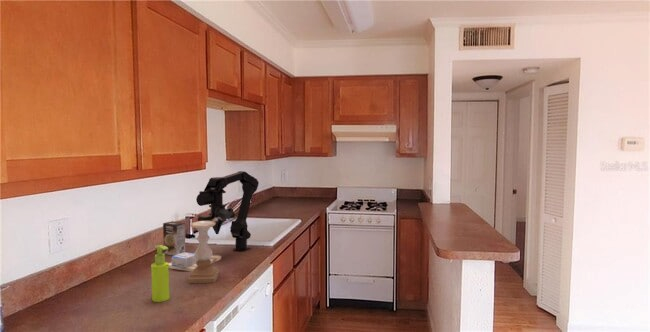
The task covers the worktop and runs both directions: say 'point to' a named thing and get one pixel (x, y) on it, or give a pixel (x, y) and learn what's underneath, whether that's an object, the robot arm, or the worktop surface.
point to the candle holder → (203, 256)
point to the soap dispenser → (160, 276)
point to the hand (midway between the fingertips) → (217, 234)
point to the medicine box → (184, 260)
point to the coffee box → (174, 237)
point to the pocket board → (192, 267)
